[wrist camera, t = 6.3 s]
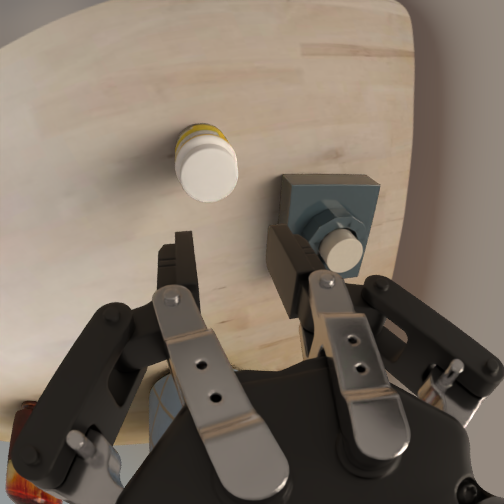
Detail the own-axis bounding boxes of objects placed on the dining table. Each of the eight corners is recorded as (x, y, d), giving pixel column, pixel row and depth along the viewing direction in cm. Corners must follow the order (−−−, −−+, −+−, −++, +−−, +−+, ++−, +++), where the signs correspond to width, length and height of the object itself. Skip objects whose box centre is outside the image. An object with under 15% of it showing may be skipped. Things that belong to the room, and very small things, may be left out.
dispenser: (282, 174, 31) (299, 193, 27) (366, 174, 33) (391, 192, 29) (273, 271, 37) (285, 298, 33) (347, 262, 40) (365, 287, 35)
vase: (45, 396, 43) (35, 528, 22) (76, 423, 49) (76, 539, 28) (7, 398, 42) (-8, 515, 21) (38, 424, 48) (32, 530, 27)
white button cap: (322, 229, 30) (330, 240, 28) (357, 227, 31) (367, 237, 29) (316, 263, 32) (323, 275, 31) (349, 259, 33) (358, 270, 31)
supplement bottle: (226, 169, 29) (242, 206, 23) (176, 172, 28) (176, 211, 22) (226, 121, 27) (244, 142, 20) (174, 123, 26) (172, 145, 19)
